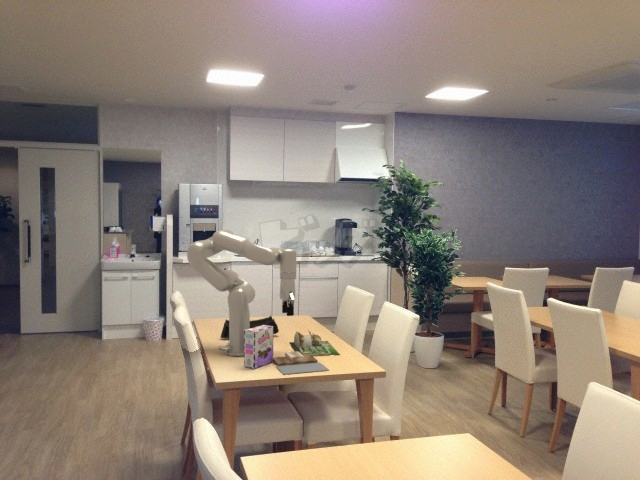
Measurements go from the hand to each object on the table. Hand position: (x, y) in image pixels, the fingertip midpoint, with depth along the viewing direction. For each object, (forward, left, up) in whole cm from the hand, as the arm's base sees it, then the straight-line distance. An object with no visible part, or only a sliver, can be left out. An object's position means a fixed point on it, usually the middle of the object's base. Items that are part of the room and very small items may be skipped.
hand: (287, 313), depth 260 cm
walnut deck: (0, -11, -20) cm, 23 cm away
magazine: (-8, +42, -20) cm, 47 cm away
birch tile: (0, -10, -17) cm, 20 cm away
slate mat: (0, -22, -20) cm, 30 cm away
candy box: (-16, -10, -20) cm, 27 cm away
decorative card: (+16, +12, -20) cm, 29 cm away
